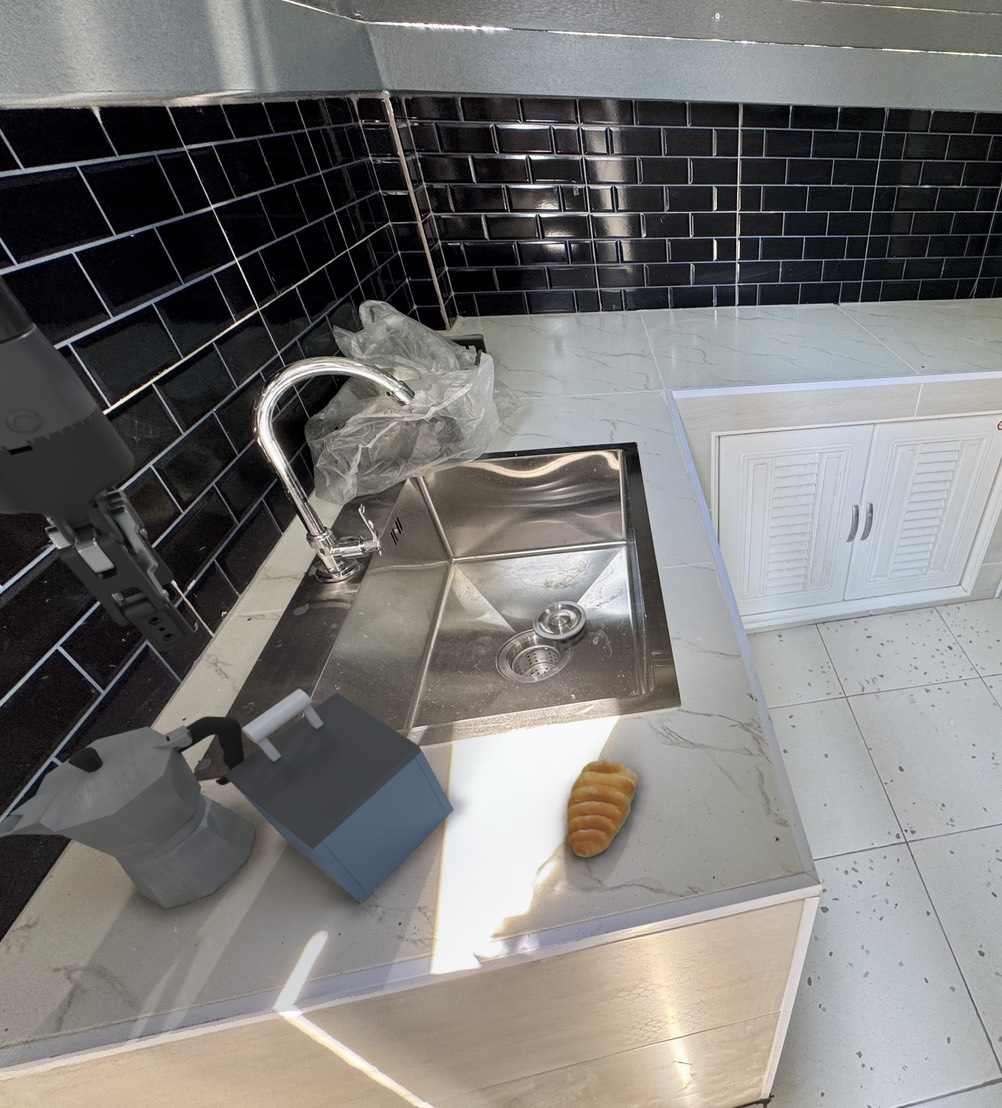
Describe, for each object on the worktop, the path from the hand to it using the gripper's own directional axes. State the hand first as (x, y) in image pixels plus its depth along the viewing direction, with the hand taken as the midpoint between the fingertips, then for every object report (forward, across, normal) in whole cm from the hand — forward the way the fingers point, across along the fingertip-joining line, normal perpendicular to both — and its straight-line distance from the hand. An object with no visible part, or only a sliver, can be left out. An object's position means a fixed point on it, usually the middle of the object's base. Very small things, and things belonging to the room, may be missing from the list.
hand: (167, 612), depth 46 cm
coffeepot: (+29, -2, -9) cm, 30 cm away
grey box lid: (+18, +5, +3) cm, 19 cm away
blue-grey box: (+28, +6, +3) cm, 29 cm away
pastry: (+29, +21, +21) cm, 41 cm away
